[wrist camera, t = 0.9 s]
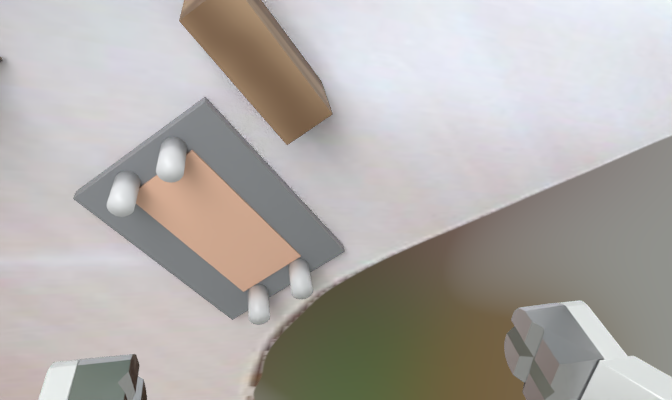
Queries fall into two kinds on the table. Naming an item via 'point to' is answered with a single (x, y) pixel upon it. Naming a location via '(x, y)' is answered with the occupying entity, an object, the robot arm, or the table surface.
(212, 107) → the cradle
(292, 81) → the block
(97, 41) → the table surface
